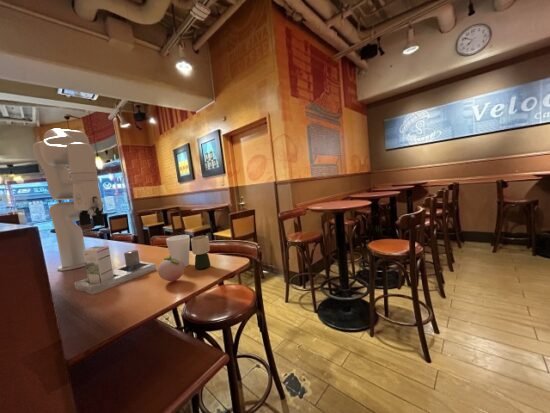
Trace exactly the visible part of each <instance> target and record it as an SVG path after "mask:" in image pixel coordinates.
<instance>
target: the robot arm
mask: <svg viewBox="0 0 550 413" xmlns="http://www.w3.org/2000/svg"><path fill="white" fill-rule="evenodd" d="M43 136H44V139H43V140H42V141H38V142H37V141H36V142H34V143H33V145H32V151H33V155H34V157H35V160H36V161H37V163H38V164H39V165H40V167H41V168H42V170H43V171H44V174H45V180H46V184H47V188H48V192H49V195H50V197H51V198H52V200H57V201H64V202H57V203H53V204H52V205H50V207H49V209H48V213H49V216H50V218H51V222H52V224H53V227H54V230H55V236H56V242H57V247H58V253H59V258H60V264H61V265H59V266H58V267H57V271H61V272H62V271H70V270H75V269H79V268H82V267H86V266H85V260H84V255H83V250H86V245H85V244H86V243H85V239H84V232H83V229H82V227H81V226H87V225H91V224H92V225H93V227H100V226H104V225H105V220H104V211H103V210H104V208H103V206H104V202H103V201H102V197H101V192H100V188H99V184H98V183H99V176H98V175H99V174H98V170H97V163H96V157H95V149H94V147H93V146H92V145H91V144H90V140H89V137H88V135H87V134H86V133H85V132H83V131H81V130H74V129H73V130H71V129H64V128H63V129H61V128H52V129H49V130H47V131H46V132H45V133H44V135H43ZM67 167H68V168H67ZM66 200H73V201H66ZM91 219H92V220H91ZM78 221H79V225H80V226H79V225H78V224H76V223H75V222H78Z"/></svg>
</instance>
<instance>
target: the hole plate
mask: <svg viewBox="0 0 550 413" xmlns="http://www.w3.org/2000/svg"><path fill="white" fill-rule="evenodd" d="M123 255H124V261H125V264H124V265H121V266H119V267H116V268H112V270H113V275H114V278H111V279H108V280H105V281H103V282H100V283H97V284H95V285H93V284H90V283H89V282H88V277H86V278H83V279H80V280H77V281H74V283H73V284H74V287H75V290H78V291H81V292H84V293H86V294H87V293H88V294H89V295H95V294H99V293H101V292H103V291H106V290H107V289H111V288H113V287H115V286H116V287H117V285H118V286H119V285H121V284H123V283H125V282H128V281H130V280H133V279H135V278H136V279H137V278H139V277H140V276H143V275H146V274H148V273H151V272H153V271H156V270H157V264H156V263H154V262H146V261H142V260H140V256H139V250H137V249H133V250H129V251H126V252H124V253H123ZM155 269H156V270H155ZM150 271H151V272H150Z"/></svg>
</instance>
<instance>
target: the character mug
mask: <svg viewBox="0 0 550 413" xmlns="http://www.w3.org/2000/svg"><path fill="white" fill-rule="evenodd" d="M190 242H191V250H192V254H193V255H195V257H194V258H195V259H194V268H195V269H197V270H200V269H206V268H208V267H210V266H211V261H210V257H209V252H210V250H211V247H210V239H209V236H208V235H199V236H195V237H191V238H190Z"/></svg>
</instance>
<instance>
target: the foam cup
mask: <svg viewBox="0 0 550 413" xmlns="http://www.w3.org/2000/svg"><path fill="white" fill-rule="evenodd" d="M165 241H166V246H167V248H168V252H169V257H170V256H171V258H173V259H180V260H181V261H182V262H183V263H184V265H185V267H186V266H188V265H189V266H190V246H191V245H190V242H191V238H190V235H189V234H180V235H174V236H170V237H167V238H166V239H165ZM189 266H188V267H189ZM186 268H187V267H186Z"/></svg>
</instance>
